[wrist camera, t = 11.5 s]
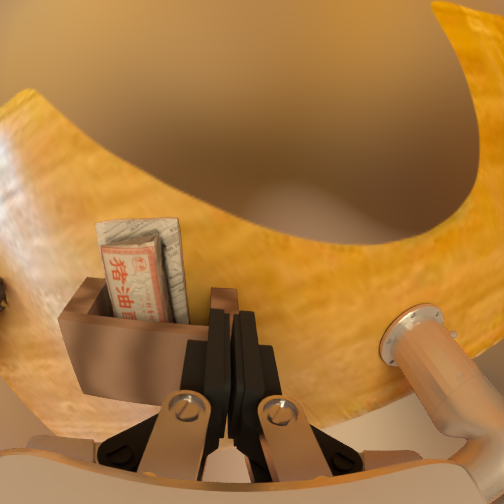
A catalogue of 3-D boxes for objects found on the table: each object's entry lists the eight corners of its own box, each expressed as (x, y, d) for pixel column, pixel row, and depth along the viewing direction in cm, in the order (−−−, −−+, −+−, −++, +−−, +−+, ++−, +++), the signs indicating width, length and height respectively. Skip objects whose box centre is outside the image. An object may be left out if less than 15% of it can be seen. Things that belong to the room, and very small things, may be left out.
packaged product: (192, 367, 35) (118, 365, 34) (194, 342, 39) (126, 341, 38) (173, 228, 27) (80, 233, 26) (180, 213, 32) (97, 219, 31)
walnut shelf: (236, 288, 36) (241, 337, 27) (229, 360, 40) (232, 410, 32) (87, 277, 33) (57, 318, 25) (101, 348, 38) (83, 393, 29)
